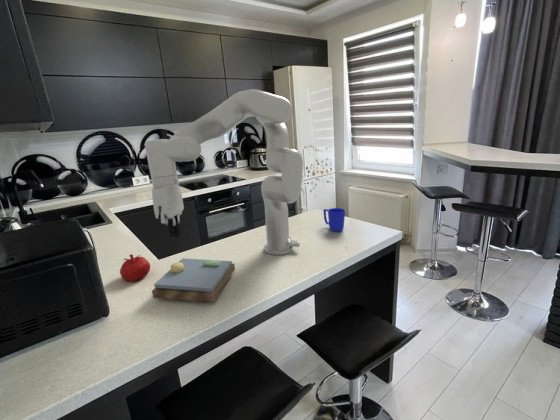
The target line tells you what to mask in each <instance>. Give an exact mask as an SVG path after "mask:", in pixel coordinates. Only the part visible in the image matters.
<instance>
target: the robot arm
mask: <svg viewBox="0 0 560 420" xmlns="http://www.w3.org/2000/svg"><path fill="white" fill-rule="evenodd" d="M293 112H294V111H293V106H292V104H291V102H290V101H289V100H288V99H287V98H285V97H283V96H280V95H277V94H273V93H271V92H267V91H263V90H260V89H255V88H252V89H245V90H241V91H238V92H236V93H233V95H231V96H230V97H228V98H227V99H225V100H224V101H222V103H220V104H219V105H217V106H216V107H215V108H213V109H211V111H209V112H208V113H206V114H204V115H202V116H200V117H199V118H197V119H196V120H194V121H193V122H191V123H189V124H188V125H186V126H184V127H183V128H182V129H180V130H179V131H177V132H176V133H175V134H173V135H172V136H171V137H169V138H168V139H167V138H157V139H150V140H147V141H146V142H145V143H144V149H145V153H146V159H147V163H148V168H149V174H150V178H151V182H152V183H151V184H152V206H153V211H154V216H155V218H156V219H157V220H160V223H161V225H166V226H167V228H168V234H169V237H170V238H171V237H172V238H174V237H175V238H176V237H177V238H178V237H180V236H181V235H182V231H181V226H180V225H181V224H180V222H181V220H180V219H181V218H180V217H181V215H182V214H183V210H184V209H185V206H184V200H183V195H182V192H181V188H180V184H179V177H178V172H177V166H176V162H191V161H195V160H197V159H198V158H199V156H200V155H201V152H202V146H201V145H202V144H203V143H205V142H207V141H211V140H214V139H218V138H221V137H222V136H224V135H227V134H228V133H229V132H230V131H231V130H233V129H234V128H235V127H236V126H238V125H239V124H240V123H242V122H243V121H244V120H245V119H247V118H252V117H254V118H256V120H257V121H258V122H259V123H260V125H262V127H263V128H264V131H265V134H266V151H265V153H266V155H265V164H266V167H267V169H268V170H269V171H270V172H272V173H278V174H281V176H280V175H268V176H267V177H265V178H264V179H263V181H262V182H261V185H260V189H261V195H262V199H263V204H264V216H265V217H264V218H265V232H266V233H265V234H266V244H265V245H263V251H264V252H265V253H267V254H268V255H271V256H272V255H273V256H282V255H286V254H289V253H291V252H293V250H294V247H295V248H300V244H301V243H300V242H298V240H292V238H291V236H290V225H289V223H290V222H289V208H288V204H293V203H295V202H297V200H299V198H300V195H301V194H302V193H301V192H302V184H303V170H304V160H303V156H302V155H301V153H300V152H299V151H298V149H297V150H296V149H294V148H289V146H290V145H289V143H290V141H289V138H290V137H289V130H288V126H287V125H286V124H285V123H286V122H289V120H291V117H292V116H293Z"/></svg>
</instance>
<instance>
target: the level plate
mask: <svg viewBox="0 0 560 420" xmlns="http://www.w3.org/2000/svg"><path fill="white" fill-rule="evenodd" d="M232 263H233V261H232V260H217V259H198V258H185V257H184V258H181V259H180V260H179V261H178V262H175V263H172V264H171V265H170V269H169V270H168V271H167V272H166V273H164V275H163V276H162V277H160V278H159V279H158V280H157V281H156V282H155V283H154V284H153V285H154V288H167V289H179V290H192V291H205V292H213V290H214V289H215V288H216V286H217V285H218V283H219V282H220V281H221V279H222V278H223V276H224V275H225V274H226V272H227V271H228V269H229V268H230V267H231V265H232Z"/></svg>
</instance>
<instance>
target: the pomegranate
mask: <svg viewBox="0 0 560 420" xmlns="http://www.w3.org/2000/svg"><path fill="white" fill-rule="evenodd" d="M128 256H129V258H123V263H122V265H121V267H120V269H119V275H120V277H121V279H122V280H124V281H126V282H133V283H134V282H139V280H142V279H143V278H145V277H146V276H147V275H148V274H149V272H150V269H151V264H150V262H149V260H147V259H146V257H144V256H142V255H141V254H138V255H137V256H135V257H134V254H133V253H132V254H129V255H128Z"/></svg>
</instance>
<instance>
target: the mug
mask: <svg viewBox="0 0 560 420" xmlns="http://www.w3.org/2000/svg"><path fill="white" fill-rule="evenodd" d="M327 216H328V217H327ZM345 216H346V210H345V209H344V208H340V207H339V208H338V207H335V208H334V207H333V208H330V209H326V208H324V209H323V219H324V223H325V224H326V225H327V226H328V228H329V230H330V231H331V230H333V231H332V232H336V231H338V232H341V230H342V231H343V230H344V227H345V225H344V224H345ZM327 218H328V219H327Z"/></svg>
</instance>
